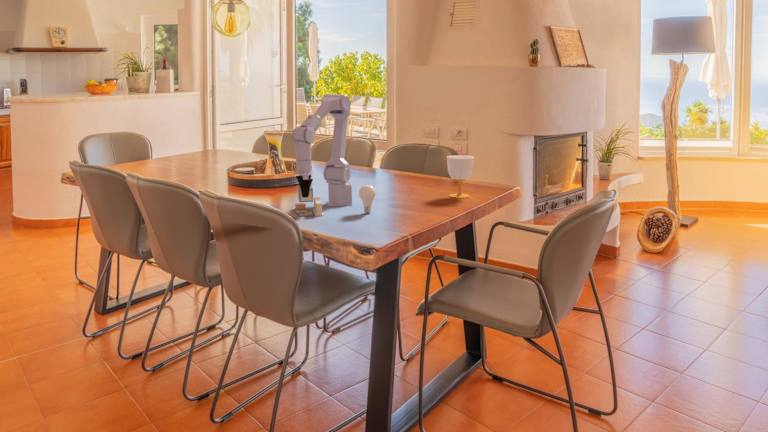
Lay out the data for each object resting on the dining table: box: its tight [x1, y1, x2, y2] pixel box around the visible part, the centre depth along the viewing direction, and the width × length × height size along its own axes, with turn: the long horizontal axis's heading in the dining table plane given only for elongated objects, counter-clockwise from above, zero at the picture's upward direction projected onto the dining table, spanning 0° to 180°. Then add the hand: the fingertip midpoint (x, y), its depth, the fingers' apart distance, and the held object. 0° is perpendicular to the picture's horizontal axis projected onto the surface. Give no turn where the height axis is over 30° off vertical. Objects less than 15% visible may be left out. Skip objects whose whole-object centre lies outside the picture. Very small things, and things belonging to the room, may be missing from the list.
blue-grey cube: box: [297, 186, 314, 203], centre depth 238 cm, size 5×5×5 cm
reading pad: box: [297, 211, 313, 218], centre depth 240 cm, size 5×6×1 cm
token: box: [294, 202, 307, 211], centre depth 248 cm, size 4×4×2 cm
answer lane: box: [294, 208, 308, 214], centre depth 247 cm, size 4×10×1 cm, turn 12°
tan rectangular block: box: [311, 197, 325, 217], centre depth 242 cm, size 3×12×5 cm, turn 12°
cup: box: [446, 154, 475, 199], centre depth 273 cm, size 12×12×17 cm
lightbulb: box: [358, 184, 377, 215], centre depth 241 cm, size 6×6×11 cm
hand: (304, 195), depth 238 cm, fingers closed on blue-grey cube, 5 cm apart
